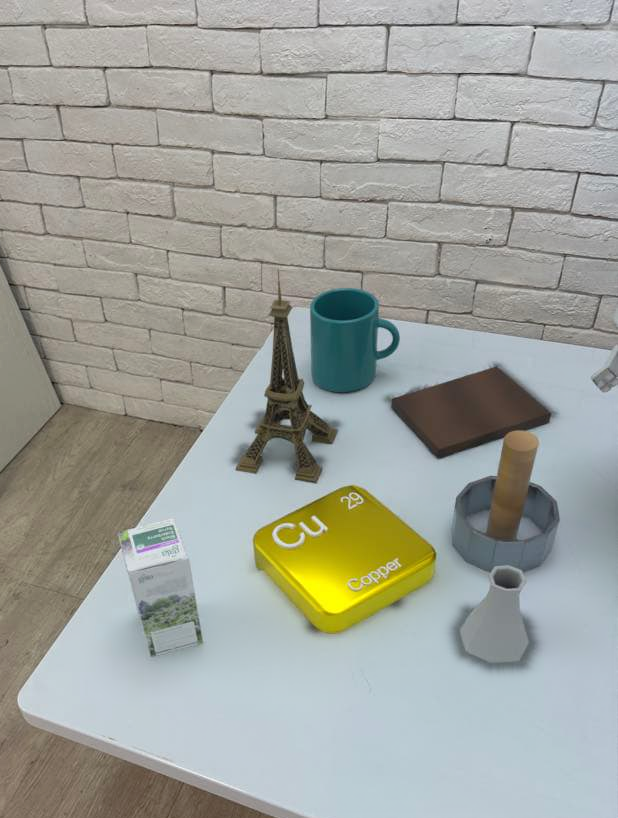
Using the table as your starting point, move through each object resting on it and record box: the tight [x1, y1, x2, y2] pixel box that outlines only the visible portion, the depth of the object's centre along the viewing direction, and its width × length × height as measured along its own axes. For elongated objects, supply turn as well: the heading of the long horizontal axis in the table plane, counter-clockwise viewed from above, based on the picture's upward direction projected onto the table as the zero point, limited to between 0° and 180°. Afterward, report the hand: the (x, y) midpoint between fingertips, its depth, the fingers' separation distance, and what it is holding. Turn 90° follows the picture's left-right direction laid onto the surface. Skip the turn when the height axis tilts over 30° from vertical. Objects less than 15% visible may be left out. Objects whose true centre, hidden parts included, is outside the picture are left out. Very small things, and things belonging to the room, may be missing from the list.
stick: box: [485, 430, 540, 540], centre depth 83 cm, size 3×3×15 cm
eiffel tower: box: [235, 268, 338, 484], centre depth 95 cm, size 11×11×25 cm
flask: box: [459, 565, 530, 664], centre depth 76 cm, size 7×7×10 cm
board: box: [390, 365, 552, 459], centre depth 104 cm, size 16×12×2 cm
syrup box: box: [117, 517, 204, 657], centre depth 79 cm, size 6×6×14 cm
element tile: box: [252, 484, 437, 635], centre depth 86 cm, size 15×15×5 cm
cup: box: [309, 287, 401, 393], centre depth 110 cm, size 9×12×11 cm
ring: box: [450, 475, 561, 574], centre depth 86 cm, size 10×10×6 cm
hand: (617, 413), depth 76 cm, fingers open, 8 cm apart
